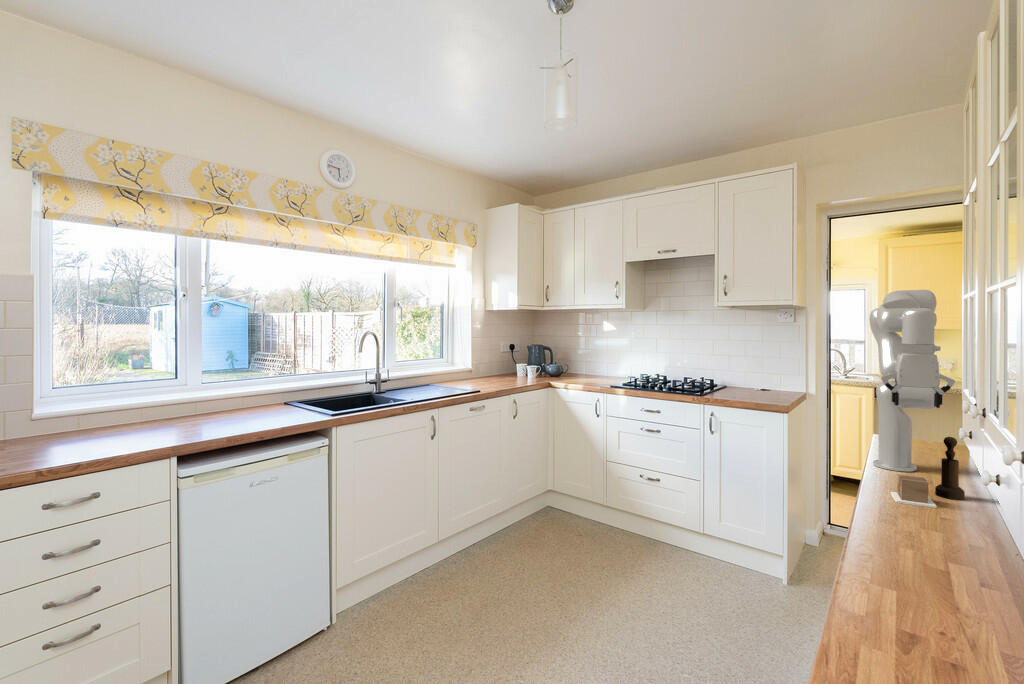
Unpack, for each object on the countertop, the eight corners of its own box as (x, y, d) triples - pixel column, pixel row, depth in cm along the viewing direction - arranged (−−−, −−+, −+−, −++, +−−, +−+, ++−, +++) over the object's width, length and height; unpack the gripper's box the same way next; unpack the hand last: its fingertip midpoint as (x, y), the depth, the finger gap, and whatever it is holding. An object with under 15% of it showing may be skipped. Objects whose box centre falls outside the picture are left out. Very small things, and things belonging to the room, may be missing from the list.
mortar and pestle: (952, 493, 149) (953, 435, 149) (970, 500, 143) (971, 439, 142) (929, 492, 150) (930, 434, 149) (946, 499, 143) (947, 439, 143)
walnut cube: (897, 493, 147) (897, 474, 147) (923, 497, 144) (923, 477, 144) (901, 499, 142) (901, 479, 141) (928, 503, 139) (928, 482, 138)
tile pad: (890, 493, 149) (890, 491, 149) (928, 498, 144) (928, 496, 144) (896, 502, 141) (896, 500, 141) (936, 508, 137) (936, 506, 136)
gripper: (951, 349, 145) (950, 405, 146) (879, 348, 154) (878, 401, 155) (959, 351, 138) (957, 410, 140) (883, 350, 147) (882, 406, 148)
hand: (916, 405), depth 147 cm, fingers open, 9 cm apart
